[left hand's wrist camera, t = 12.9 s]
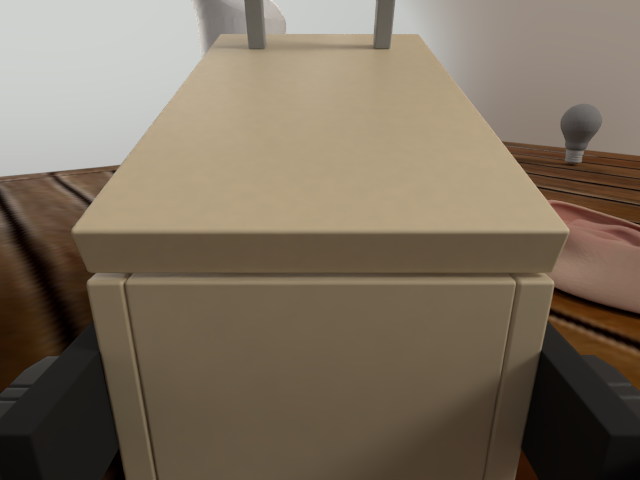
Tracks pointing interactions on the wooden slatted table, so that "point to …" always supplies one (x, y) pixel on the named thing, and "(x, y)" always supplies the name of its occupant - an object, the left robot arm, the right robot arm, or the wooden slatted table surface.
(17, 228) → the wooden slatted table surface
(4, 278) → the wooden slatted table surface
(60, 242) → the wooden slatted table surface
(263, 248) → the lid
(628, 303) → the anatomical model
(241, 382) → the chest
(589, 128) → the light bulb
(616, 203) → the wooden slatted table surface
